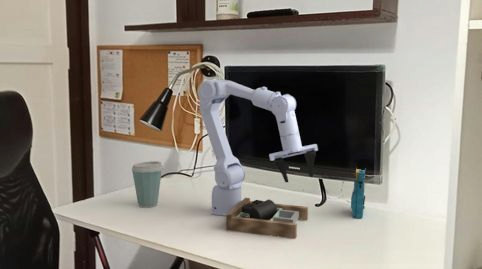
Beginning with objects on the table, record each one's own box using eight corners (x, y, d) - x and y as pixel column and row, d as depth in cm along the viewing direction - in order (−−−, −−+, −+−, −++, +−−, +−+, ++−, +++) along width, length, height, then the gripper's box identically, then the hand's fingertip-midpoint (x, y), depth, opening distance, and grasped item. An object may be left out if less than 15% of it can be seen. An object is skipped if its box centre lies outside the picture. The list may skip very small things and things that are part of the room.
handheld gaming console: (363, 219, 161) (365, 173, 159) (350, 218, 162) (352, 172, 160) (364, 210, 170) (366, 166, 168) (352, 209, 171) (353, 165, 169)
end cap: (260, 230, 151) (260, 208, 150) (240, 226, 155) (240, 204, 154) (277, 221, 160) (277, 200, 158) (258, 217, 163) (258, 197, 162)
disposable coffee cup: (127, 208, 172) (126, 165, 169) (139, 199, 182) (137, 158, 180) (158, 210, 170) (156, 166, 168) (167, 200, 181) (166, 159, 178)
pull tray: (234, 227, 152) (234, 216, 152) (249, 213, 166) (249, 203, 165) (290, 234, 147) (290, 223, 146) (300, 219, 160) (301, 208, 160)
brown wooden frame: (226, 230, 151) (226, 214, 150) (245, 212, 168) (245, 197, 167) (295, 238, 145) (295, 221, 144) (307, 218, 161) (308, 203, 161)
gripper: (268, 140, 147) (278, 185, 147) (316, 129, 149) (325, 175, 149) (264, 139, 154) (273, 183, 154) (310, 129, 156) (319, 173, 156)
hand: (299, 179), depth 152 cm, fingers open, 7 cm apart
